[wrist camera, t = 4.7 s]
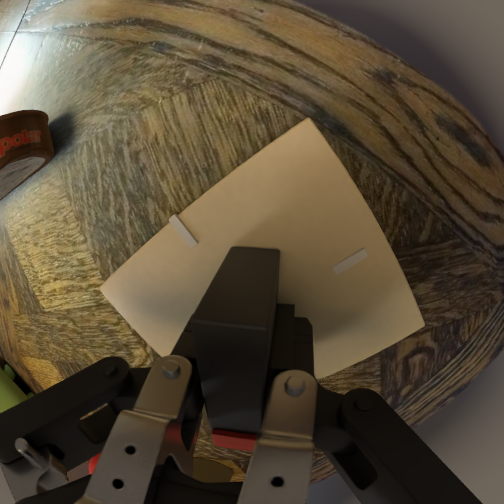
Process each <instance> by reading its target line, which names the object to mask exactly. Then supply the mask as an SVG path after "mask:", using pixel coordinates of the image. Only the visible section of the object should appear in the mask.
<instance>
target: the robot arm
mask: <svg viewBox="0 0 504 504" xmlns="http://www.w3.org/2000/svg"><path fill="white" fill-rule="evenodd" d="M193 314H194V313H193ZM193 314H192V315H193ZM294 314H295V304H281V303H277V307H276V315H275V323H274V330H273V338H272V345H271V352H270V359H269V366H268V379H267V393H266V406H265V409H266V411H265V415H264V419H263V423H262V427H261V430H260V433H259V434H258V436H257V438H256V441H255V444H254V448H253V452H252V455H251V459H250V462H249V465H248V469H247V472H246V476H245V479H244V482H243V481H241V482H220V483H204V482H201V481H198V480H196V479H194V478H192V475H193V454H194V450H195V446H196V441H197V437H198V433H199V429H200V424H201V420H202V415H203V414H202V408H203V406H204V403H205V402H204V397H203V392H202V387H201V382H200V376H199V371H198V365H197V359H196V353H195V347H194V340H193V334H192V327H191V317H192V315H191V317H190V319H189V321H188V322H187V325H186V326H185V328H184V330H183V331H182V333H181V335H180V337H179V339H178V341H177V342H176V344H175V346H174V348H173V350H172V352H171V354H170V355H168V356H164V357H162V358H160V359H158V360H157V361H156V362H155V363H154V364H153V365H152V367H150V368H129V365H128V363H127V362H126V361H125V360H124V359H123V358H120V357H116V356H111V357H106V358H104V359H101V360H100V361H98V362H96V363H94V364H92V365H90V366H89V367H87V368H85V369H83V370H81V371H79V372H78V373H76V374H74V375H72V376H70V377H68V378H66V379H65V380H63V381H61V382H59V383H57V384H55V385H53V386H52V387H50V388H48V389H46V390H44V391H42V392H40V393H38V394H36V395H34V396H33V397H31V398H29V399H27V400H25V401H23V402H21V403H19V404H17V405H15V406H13V407H11V408H9V409H7V410H5V411H3V412H1V413H0V465H1V468H2V471H3V473H4V476H5V478H6V481H7V483H8V486H9V488H10V490H11V493H12V495H13V497H14V499H15V501H16V503H15V504H306V503H307V497H308V492H309V485H310V479H311V472H312V464H313V457H314V447H315V448H318V449H322V450H324V453H325V454H326V456H327V457H328V459H329V460H330V461H331V463H332V464H333V466H334V467H335V468H336V470H337V471H338V473H339V474H340V475H341V477H342V478H343V479H344V481H345V482H346V484H347V485H348V486H349V488H350V489H351V491H352V492H353V493H354V495H355V496H356V497H357V499H358V500H359V501H360V503H361V504H482V503H481V501H479V499H477V497H476V496H475V495H474V494H473V493H472V492H471V491H470V490H469V489H468V488H467V487H466V486H465V485H464V484H463V483H462V482H461V481H460V480H459V479H458V478H457V476H456V475H455V474H454V473H453V472H452V471H451V470H450V469H449V468H448V467H447V466H446V465H445V464H444V463H443V462H442V461H441V460H440V459H439V458H438V457H437V455H436V454H435V453H434V452H433V451H432V450H431V449H430V448H429V447H428V446H427V445H426V444H425V443H424V442H423V441H422V440H421V439H420V437H419V436H417V434H416V433H415V432H414V431H413V430H412V429H411V428H410V427H409V426H408V425H407V424H406V423H405V422H404V420H403V419H402V418H401V417H400V416H399V415H398V414H397V413H396V412H395V411H394V410H393V409H392V408H391V407H390V406H389V405H388V404H387V402H386V401H385V400H384V399H383V398H382V397H381V396H380V395H379V394H378V393H376V392H375V391H373V390H370V389H366V388H357V389H353V390H351V391H349V392H347V393H346V394H345V395H343V394H339V393H336V392H332V391H329V390H327V389H325V388H324V387H322V386H321V385H320V384H319V383H318V382H317V380H316V378H315V375H314V348H313V326H312V324H311V323H310V321H309V320H308V318H306V317H294ZM105 403H108V405H107V406H106V407H104V408H102V409H101V410H99V411H97V412H96V413H94V414H92V415H90V416H89V417H87V418H85V419H82V420H80V418H81V417H83V416H85V415H86V414H88V413H90V412H91V411H93V410H95V409H97V408H98V407H100V406H102V405H103V404H105ZM99 453H101V455H100V457H99V459H98V462H97V464H96V466H95V469H94V471H93V473H92V474H90V475H87V476H85V477H83V478H80V479H78V480H75V481H73V482H70V483H68V481H69V479H68V477H67V472H68V471H69V470H71V469H73V468H75V467H77V466H79V465H80V464H82V463H84V462H86V461H87V460H89V459H91V458H92V457H94V456H96V455H97V454H99ZM60 485H61V486H60ZM58 486H60V487H58Z"/></svg>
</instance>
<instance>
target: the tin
mask: <svg viewBox="0 0 504 504" xmlns="http://www.w3.org/2000/svg"><path fill="white" fill-rule="evenodd" d="M53 155H54V149H53V144H52V139H51V135H50V131H49V126H48V115H47V114H46V113H45V112H43V111H39V110H22V111H17V112H12V113H9V114H5V115H2V116H0V200H1V199H2V198H4V197H5V196H6V195H7V194H9V193H10V192H11V191H13V190H14V189H15V188H16V187H18V186H19V185H20V184H22V183H23V182H24V181H25V180H27V179H28V178H29V177H31V176H32V175H33V174H35V173H36V172H37V171H39V170H40V169H41V168H43V167H44V166H45V165H46V164H47V163H49V162H50V160H51V159H52V158H53Z"/></svg>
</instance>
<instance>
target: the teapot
mask: <svg viewBox="0 0 504 504" xmlns="http://www.w3.org/2000/svg"><path fill="white" fill-rule="evenodd" d="M14 377H15V374H14V372H13V371H12V369H11V368H10V367H9V366H8V365H7V364H5V369H4V371H3V370H2V369H1V368H0V413H1V412H3V411H5V410H7V409H9V408H11V407H13V406H15V405H17V404H19V403H21V402H23V401H25V400H27V399H29V398H31V397H33V396H34V394H33V393H31V392H30V393H28V394H27V395H25V394H24V393H23V391H22V390H21V389H20V388H19V387H18V386H17V385H16V384H15V383H14V382H13V379H14Z"/></svg>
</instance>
